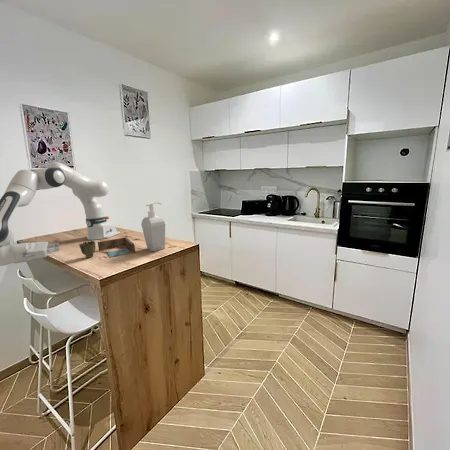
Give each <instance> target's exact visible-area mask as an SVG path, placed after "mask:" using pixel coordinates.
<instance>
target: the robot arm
mask: <svg viewBox="0 0 450 450" xmlns="http://www.w3.org/2000/svg"><path fill="white" fill-rule="evenodd" d="M61 186H65V187H67V188H68V189H71V191H72V193H73V195H74V196H75V197H77V199H79V201H80V202H81V203H82V206H83V209H84V214H85V224H86V226H87V227H86V229H87V233H86V234H87V236H86V239H87V240H88V241H95V240H101V239H110V238H112V237H114V236H116V235H119V234H121V231H119V230H117V228H116V226H115V224H113V223H111V222H109V221H107V220H109V219H110V216H105V215H104V209H103V205H102V204H101V203H100V202H99V201H98V200H97V199H96V198H101V197H106V196H107V195H108V194H109V190H110V188H109V185H108V183H106V181H102V180H99V179H95V178H93V177H90V176H88V175H85V174H82V173H80V172H79V171H77V170H76V169H74V168H72V167H70V166H68V165H66V164H64V163H62V162H58V161H54V162H53V161H52V162H50V163H49V164H48V165H47V167H45V168H39V169H36V170H29V169H20V170H19V171H17V172H16V173H15V174H14V175H13V177H12V178H11V180H10V181H9V184H8V185H7V187H6V190H5V192H4V193H3V194H2V196H1V197H0V267H4V266H9V265H10V264H20V263H21V264H22V263H26V262H30V261H31V260H36V259H43V258H46V257H48V255H49V254H51V253H52V254H53V253H56V252H59V251H60V248H59V247H60V243H58V242H57V243H56V242H55V243H49V242H48V241H37V242H29V241H28V242H27V241H26V242H22V243H15V244H14V240H15V237H14V234H13V233H12V231H11V230H10V228H9V220H10V219H11V217H12V215H13V213H14V212H15V210H16V208H20V207H21V208H22V207H27V206H28V205H30V204H31V202H32V201H33V199H34V197H35V195H36V192H37V191H39V190H49V189H54V188H60V187H61Z"/></svg>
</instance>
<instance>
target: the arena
mask: <svg viewBox="0 0 450 450" xmlns="http://www.w3.org/2000/svg"><path fill="white" fill-rule="evenodd" d="M97 246H98V247H97V248H98V251H99V252H101V251H106V250H112V249H116V248H118V250H113V251H107V252H106V254H107V255H108V257H109V258H111V259H112V258H115V257H119V256H125V255H130V254H131V253H132V254H136V247H135V243H134V242H133V241H131V240H130V239H129V238H128V237H126V236H125V237H119V238H115V239H108V240H103V241H97ZM122 247H126V248H124V249H119V248H122Z"/></svg>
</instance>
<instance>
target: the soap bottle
mask: <svg viewBox="0 0 450 450" xmlns="http://www.w3.org/2000/svg"><path fill="white" fill-rule="evenodd" d="M155 204H157V205H162V203H161V202H156V201H155V202H154V201H153V202H148V203H146V204H145V207H148V209H149V211H147V216H146V217H144V218H143V219H142V221H141V228H142V232H143V236H144V241H145V244H146V248H147V249H148V250H149V251H152V252H157V251H161V250H165V249H166V223H165V221H164V219H163V218H162V217H161V216H159V215H157V212H156V210H154V205H155Z"/></svg>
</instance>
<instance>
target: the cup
mask: <svg viewBox="0 0 450 450" xmlns="http://www.w3.org/2000/svg"><path fill="white" fill-rule="evenodd" d="M78 245H79V249H80V251H81V253H82V255H83V256H85V258H86V259H91V258H93V256H94V253H95V252H96V241H95V240H88V241H83V242H81V243H78Z"/></svg>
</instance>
